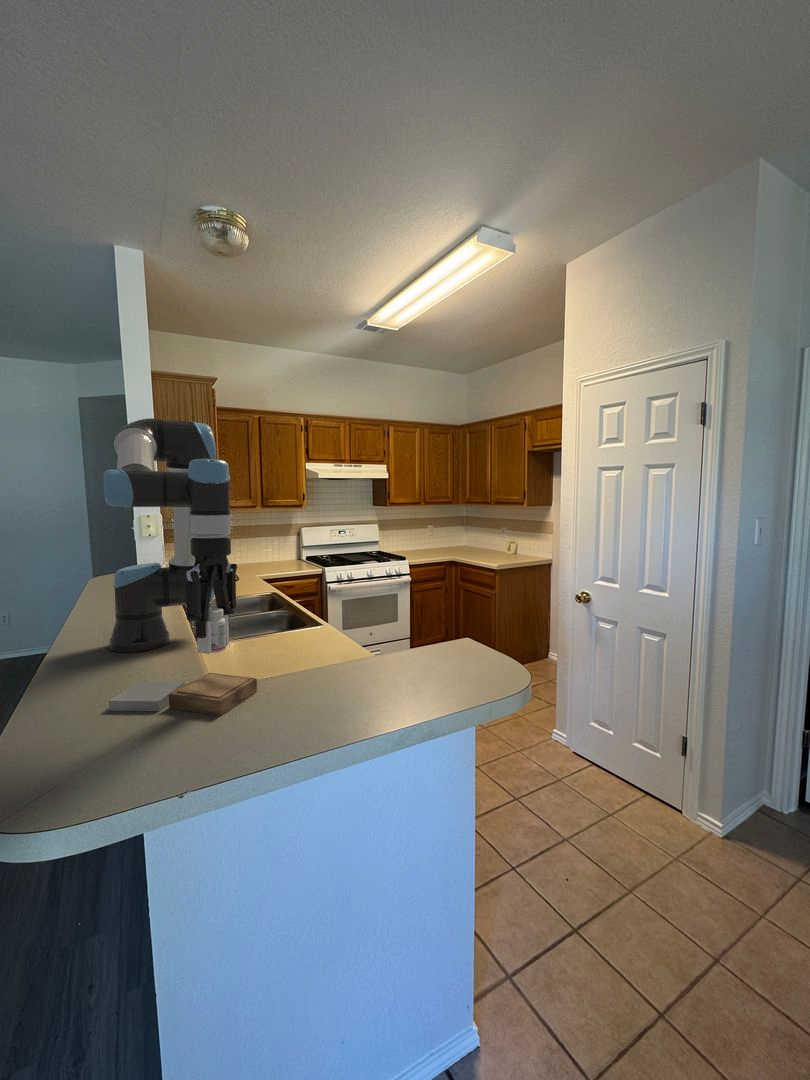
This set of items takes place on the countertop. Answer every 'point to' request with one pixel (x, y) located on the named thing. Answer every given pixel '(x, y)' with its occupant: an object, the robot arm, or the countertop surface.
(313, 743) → the countertop surface
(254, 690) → the walnut stand
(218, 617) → the pill bottle
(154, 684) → the slate tile
